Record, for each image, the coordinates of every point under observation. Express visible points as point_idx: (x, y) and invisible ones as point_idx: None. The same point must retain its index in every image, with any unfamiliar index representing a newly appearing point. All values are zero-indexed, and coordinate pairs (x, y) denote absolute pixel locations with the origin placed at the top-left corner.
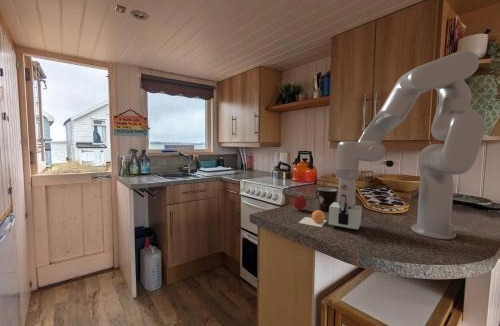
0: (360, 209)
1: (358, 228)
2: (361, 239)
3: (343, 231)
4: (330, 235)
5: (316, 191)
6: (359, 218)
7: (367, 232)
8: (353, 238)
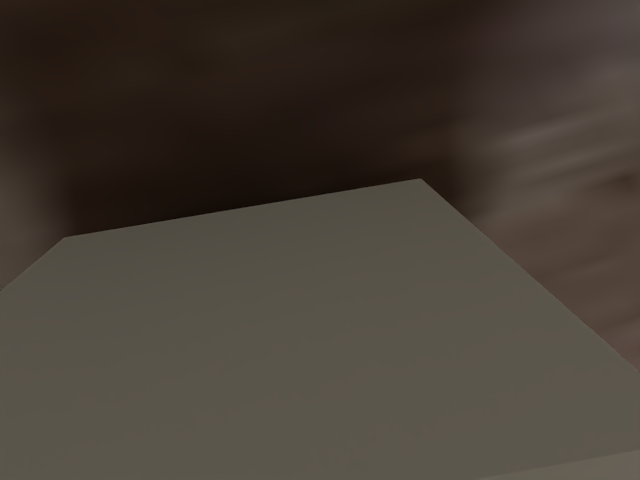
0: (170, 470)
1: (398, 184)
2: (615, 57)
3: None
4: (632, 364)
5: None
6: (344, 266)
7: (260, 61)
8: (622, 154)
